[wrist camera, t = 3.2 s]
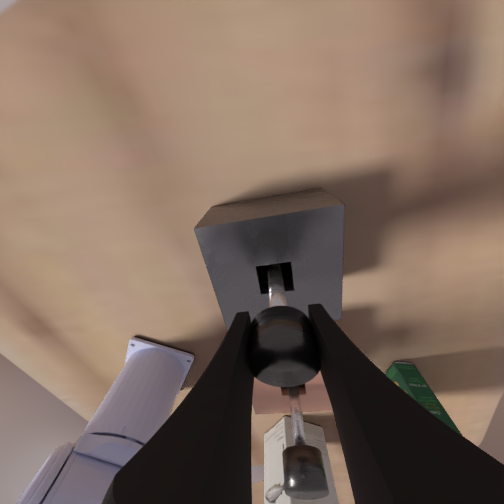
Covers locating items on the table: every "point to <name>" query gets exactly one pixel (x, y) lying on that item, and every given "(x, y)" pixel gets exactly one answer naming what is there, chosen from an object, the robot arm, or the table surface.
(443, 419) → the coffee box
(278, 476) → the supplement box
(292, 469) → the plunger
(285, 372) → the plunger
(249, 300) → the pot
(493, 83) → the table surface
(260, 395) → the pot
